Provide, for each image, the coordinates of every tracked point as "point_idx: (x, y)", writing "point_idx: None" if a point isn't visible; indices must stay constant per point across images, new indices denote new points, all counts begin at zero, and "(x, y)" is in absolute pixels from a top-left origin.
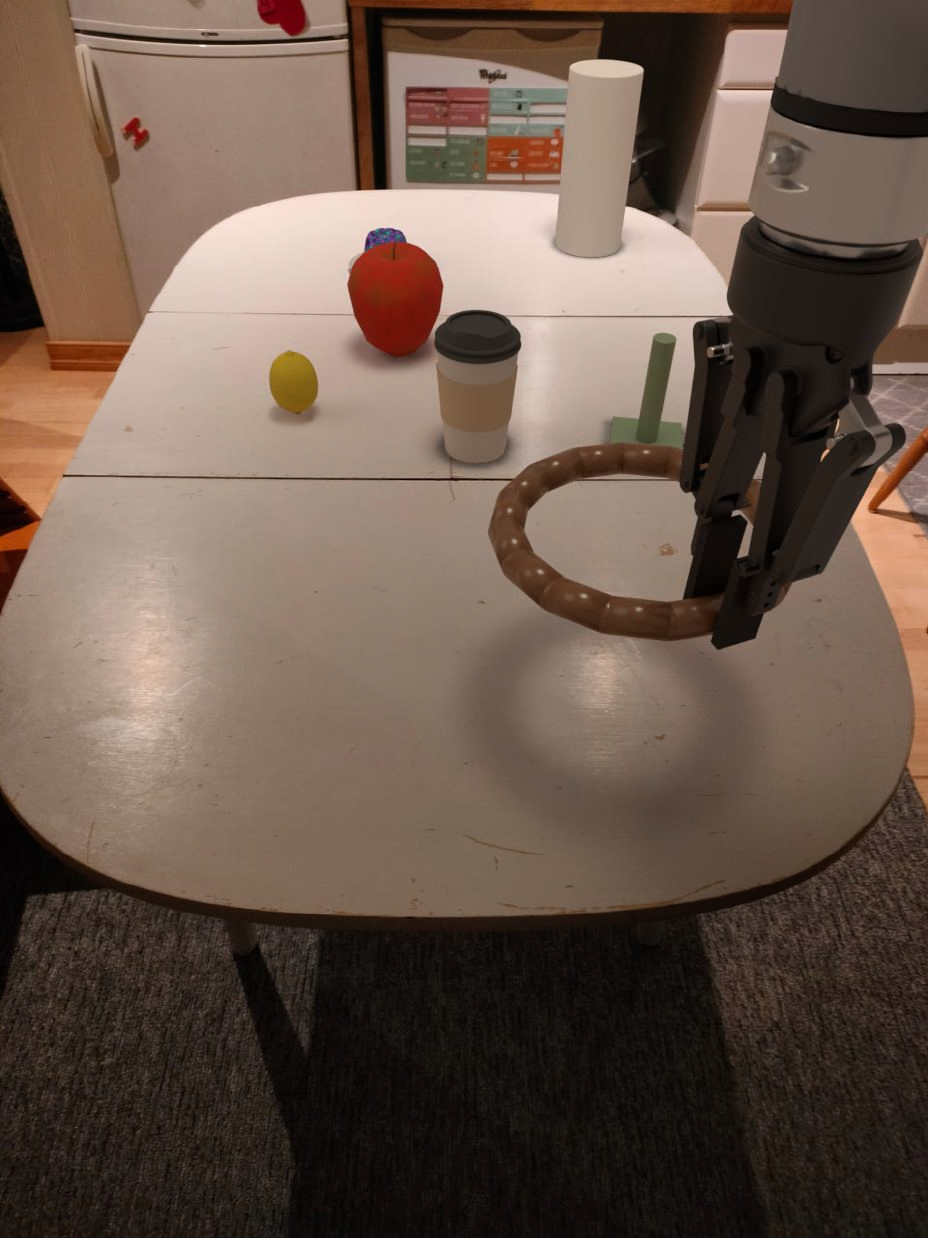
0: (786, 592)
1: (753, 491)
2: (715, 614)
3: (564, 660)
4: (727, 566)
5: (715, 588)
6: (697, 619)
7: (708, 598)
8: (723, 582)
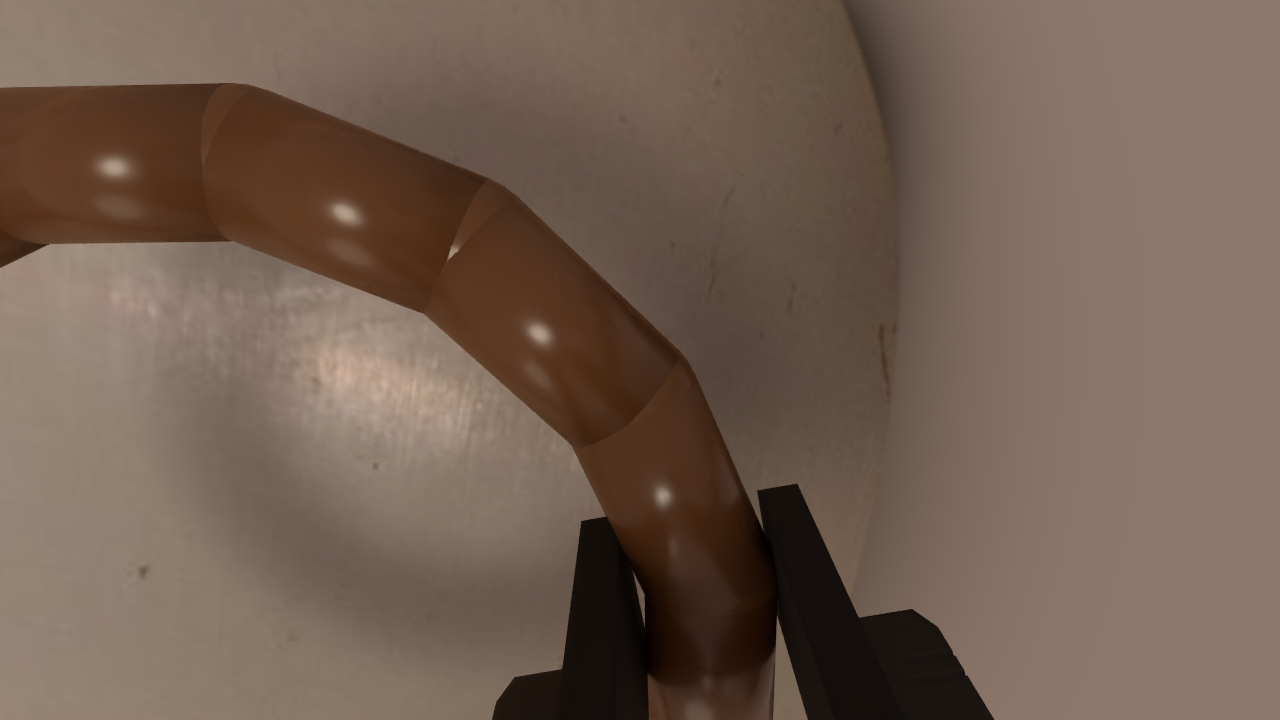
0: (663, 340)
1: (7, 207)
2: (760, 661)
3: (332, 449)
4: (623, 646)
5: (630, 610)
6: (763, 714)
7: (696, 674)
8: (624, 596)
